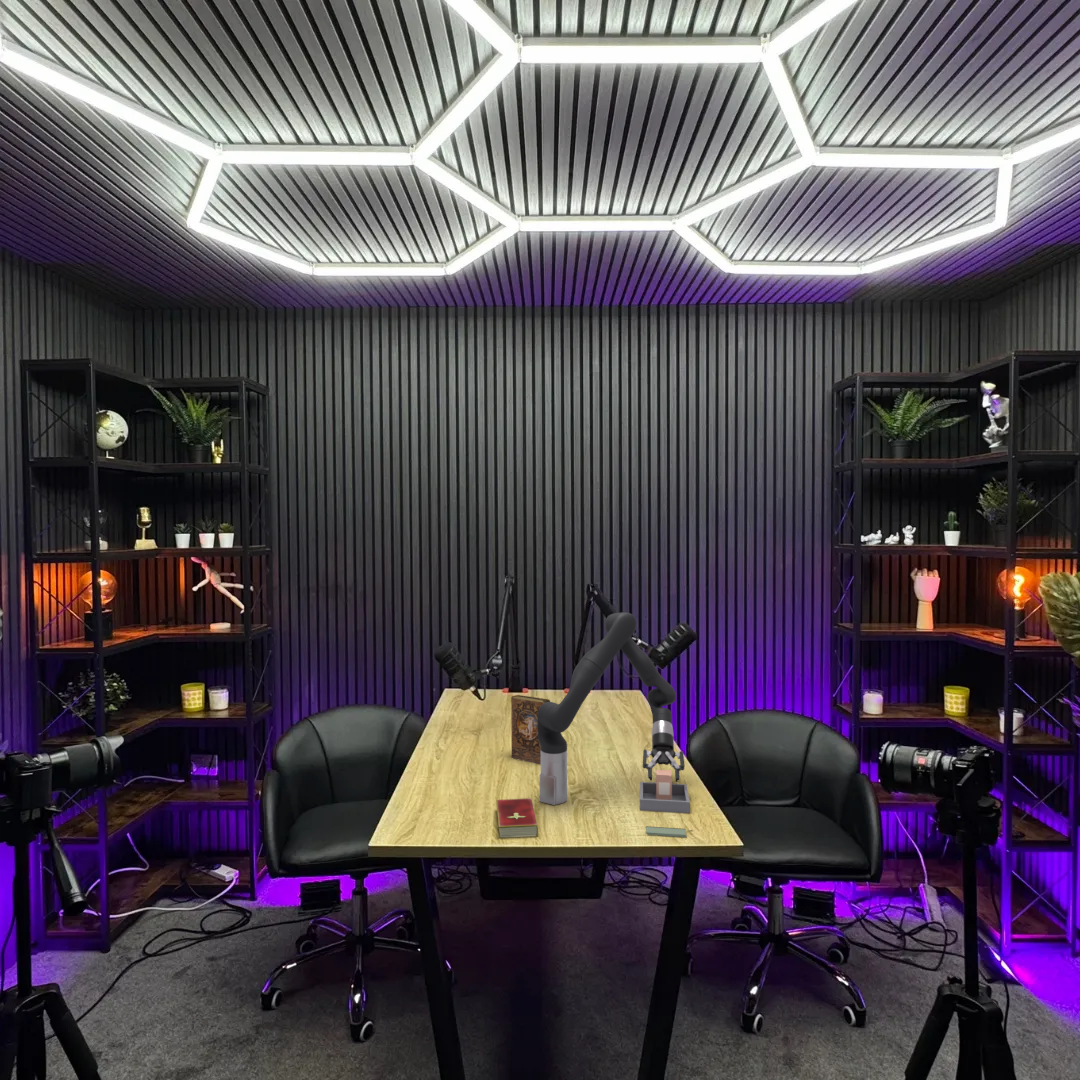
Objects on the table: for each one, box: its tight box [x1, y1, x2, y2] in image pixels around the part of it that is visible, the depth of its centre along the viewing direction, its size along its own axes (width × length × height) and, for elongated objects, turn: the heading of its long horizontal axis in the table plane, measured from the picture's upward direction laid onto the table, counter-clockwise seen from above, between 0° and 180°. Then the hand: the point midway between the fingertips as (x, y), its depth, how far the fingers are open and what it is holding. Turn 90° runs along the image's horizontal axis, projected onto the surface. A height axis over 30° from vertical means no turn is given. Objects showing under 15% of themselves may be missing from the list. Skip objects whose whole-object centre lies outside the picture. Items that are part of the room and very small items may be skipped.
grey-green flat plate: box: [645, 826, 687, 839], centre depth 209 cm, size 12×12×1 cm
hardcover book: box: [495, 797, 539, 839], centre depth 213 cm, size 12×21×4 cm, turn 6°
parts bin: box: [639, 781, 691, 814], centre depth 227 cm, size 16×16×4 cm
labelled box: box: [655, 769, 673, 800], centre depth 227 cm, size 5×5×10 cm
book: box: [510, 694, 551, 765], centre depth 273 cm, size 16×6×25 cm, turn 59°
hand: (663, 780), depth 228 cm, fingers open, 8 cm apart
